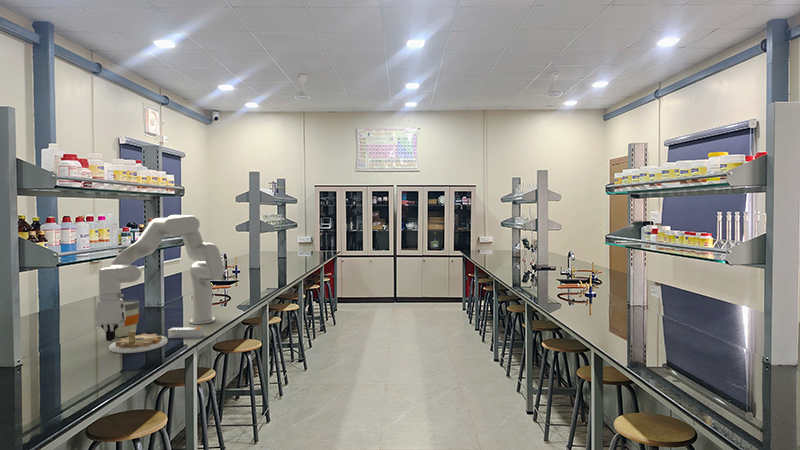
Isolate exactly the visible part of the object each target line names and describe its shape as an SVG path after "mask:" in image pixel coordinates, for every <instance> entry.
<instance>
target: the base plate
mask: <svg viewBox="0 0 800 450" xmlns="http://www.w3.org/2000/svg"><path fill="white" fill-rule="evenodd" d="M161 336H162V340H160V342H159V343H153V344H150V346H146V347H145V346H140V347H136V348H131V347H125V348H119V346H116V341H114V342H112V343H111V344H109V345H108V350H109V352H111V351H112V353H115V352H116V354H133V353H134V354H135V353H142V352H147V351H148V352H149V351H152V350H156V349H159V348H162V347H164V346H165V345H167V344H168V339H169V338H167V337H168V336H163V335H161Z"/></svg>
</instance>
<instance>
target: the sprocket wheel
mask: <svg viewBox="0 0 800 450" xmlns="http://www.w3.org/2000/svg"><path fill="white" fill-rule="evenodd" d="M162 336H163V335H161V334H160V335H158V333H151V334H147V333H141V334H137V335H136V333H135V331H129V336H125V337H121V338H118V340H115V342H116V346H119V348H125V347H131V348H136V347H140V346H145V347H146V346H150V344H153V343H159V342H160V340H162Z"/></svg>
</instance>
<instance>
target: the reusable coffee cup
mask: <svg viewBox="0 0 800 450" xmlns="http://www.w3.org/2000/svg"><path fill="white" fill-rule="evenodd" d="M123 302H124V306H125V314H126V320H125V321H124V326H121V327H118V328H117V329H116V330H115V338H116V337H118V338H119V337H121V338H124V337H129V331H135V334H136V332H137V324H138V323H139V317H140V312H139V309H140V301H139V300H138V299H123Z"/></svg>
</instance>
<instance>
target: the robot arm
mask: <svg viewBox="0 0 800 450" xmlns="http://www.w3.org/2000/svg"><path fill="white" fill-rule="evenodd" d="M200 224H201V223H200V220H199V219H198V217H196V216H195V215H191V214H190V215H188V214H187V215H185V214H171V215H169V216H168V217H157V218H154V219H152V220H151V221H150V222H149V223H148V225H147V227H145V229H144V230H143V232H142V233H141V235H140V236H139V237H138V239H137V240H136V241H135V242H133V244H131V245H129V246H127V247H126V248H125V249H123V250H122V251H120V253H118V254H117V256H115V258H114V259H113V260H112V262H111V263H110V265H109V266H107V267H106V266H105V267H101V268H99V270H98V296H99V297H98V300H97V301H96V306H95V307H96V308H95V323H96V325H95V326H96V327H98V328H101V329H102V330H103V331H104V332H105V339H106V342H112V341H114V340H115V338H116V336H115V330H116V329H117V328H118V327H121V326H124V321H125V320H126V314H125V306H124V302H123V300H124V299H122V298H124V295H125V294H124V293H122V292H121V284H122V283H123V284H124V283H130V284H131V283H135V282H137V281H138V280H139V279H140V278H141V277H142V271H141V269H140V267H138V266H137V265H133V264H132V263H134V262H135V261H136V260H138V259H141V258H143V257H146V256H149V255H151V254H153V253H154V252H155V251H156V250H157V248H158V246H160V244H161V242H163V240H164V238H165V237H178V236H180V237H181V238H182V240H183V244H184V246H185V250H186V253H187V256H188V258H189V260H191V261H195V262H193V263H192V264H191V266H190V267H189V268H190V269H189V275H190V276H189V277H190V279H191V285H192V286H191V287H192V289H191V290H192V293H191V296H192V297H191V300H192V301H191V303H192V307H191V308H192V318H190V319H189V320H188V321H189V323H190V324H193V325H204V324H205V325H206V324H209V323H210V324H211V323H214V322H215V321H216V317H214V316H213V312H214V311H213V285H212V282H211V281H214V282H215V281H218V280H219V281H220V280H221V279H222V278H223V277H224V274H225V273H224V272H225V268H224V263H223V260H222V256H221V253H220V250H219V248H218V247H217V245H216V244H215V243H212V242H204V241H203V238H202V235H201V232H200V230H199V229H200Z"/></svg>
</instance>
